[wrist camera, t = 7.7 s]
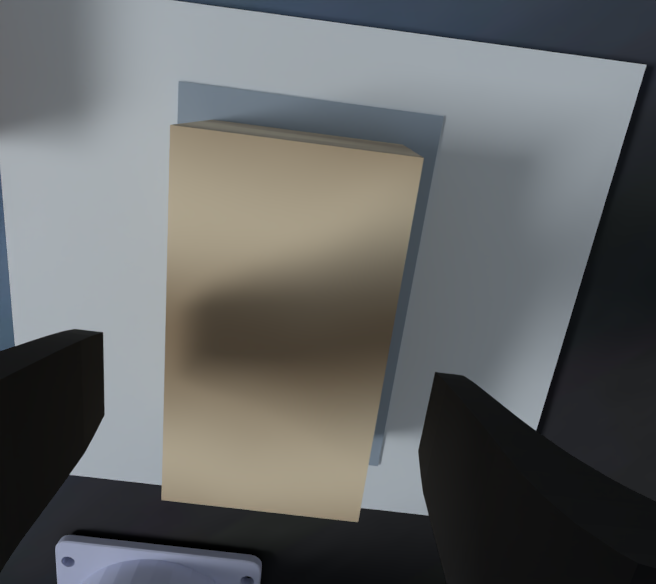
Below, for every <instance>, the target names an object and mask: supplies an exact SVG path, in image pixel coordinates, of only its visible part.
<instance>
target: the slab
mask: <svg viewBox="0 0 656 584" xmlns="http://www.w3.org/2000/svg"><path fill="white" fill-rule="evenodd" d="M423 160H424V158H423V157H422V156H420V155H419V154H417V153H415V152H414V151H412V150H411V149H409V148H407V147H406V146H404V145H402V144H395V143H387V142H379V141H372V140H364V139H357V138H349V137H341V136H334V135H326V134H318V133H311V132H303V131H295V130H288V129H280V128H272V127H265V126H257V125H249V124H242V123H234V122H226V121H219V120H205V121H197V122H189V123H181V124H173V125H170V149H169V193H168V237H167V281H166V325H165V369H164V413H163V457H162V500H166V501H175V502H184V503H193V504H202V505H210V506H219V507H228V508H237V509H246V510H255V511H264V512H272V513H281V514H290V515H299V516H308V517H317V518H326V519H335V520H343V521H352V522H358V520H359V514H360V509H361V503H362V498H363V492H364V487H365V481H366V476H367V470H368V465H369V459H370V454H371V448H372V442H373V437H374V431H375V426H376V420H377V415H378V409H379V404H380V398H381V393H382V387H383V382H384V376H385V371H386V365H387V359H388V354H389V348H390V343H391V337H392V332H393V326H394V321H395V315H396V310H397V304H398V299H399V293H400V288H401V282H402V277H403V271H404V265H405V260H406V254H407V249H408V243H409V238H410V232H411V227H412V221H413V216H414V210H415V205H416V199H417V194H418V188H419V183H420V177H421V171H422V166H423Z"/></svg>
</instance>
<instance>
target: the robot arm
mask: <svg viewBox="0 0 656 584" xmlns="http://www.w3.org/2000/svg"><path fill="white" fill-rule="evenodd" d="M104 415H105V406H104V348H103V332H96V331H88V330H80V329H72V330H66V331H62V332H58V333H55V334H51V335H48V336H45V337H42V338H39V339H35V340H32V341H29V342H26V343H23V344H20V345H17V346H14V347H12V348H9V349H6V350H3V351H0V572H1V570H2V569H3V567H4V565H5V564H6V562H7V561H8V559H9V558H10V556H11V555H12V553H13V552H14V550H15V549H16V547H17V546H18V544H19V543H20V541H21V540H22V539H23V537H24V536H25V534H26V533H27V532H28V530H29V529H30V528H31V526H32V525H33V524H34V522H35V521H36V519H37V518H38V517H39V515H40V514H41V513H42V511H43V510H44V509H45V507H46V506H47V505H48V503H49V502H50V500H51V499H52V498H53V496H54V495H55V494H56V492H57V491H58V490H59V488H60V487H61V486H62V484H63V483H64V481H65V480H66V479H67V477H68V476H69V474H70V473H71V472H72V470H73V469H74V468H75V466H76V465H77V463H78V462H79V460H80V459H81V458H82V456H83V455H84V453H85V452H86V450H87V448H88V446H89V444H90V442H91V441H92V439H93V437H94V435H95V433H96V431H97V429H98V427H99V425H100V423H101V421H102V419H103V417H104ZM418 455H419V465H420V474H421V482H422V490H423V495H424V499H425V503H426V507H427V511H428V515H429V518H430V522H431V526H432V530H433V534H434V537H435V541H436V545H437V549H438V553H439V556H440V560H441V564H442V568H443V571H444V575H445V579H446V583H447V584H656V502H655V501H653V500H651V499H649V498H647V497H645V496H643V495H641V494H639V493H637V492H635V491H633V490H631V489H629V488H627V487H625V486H623V485H622V484H620V483H618V482H616V481H614V480H612V479H610V478H609V477H607V476H605V475H604V474H602V473H600V472H598V471H597V470H595V469H593V468H592V467H590V466H588V465H587V464H585V463H583V462H582V461H580V460H578V459H577V458H575V457H573V456H572V455H570V454H569V453H567V452H566V451H564V450H563V449H561V448H560V447H558V446H557V445H555V444H554V443H553V442H551V441H550V440H548V439H547V438H545V437H544V436H543V435H541V434H540V433H538V432H537V431H536V430H534V429H533V428H532V427H530V426H529V425H527V424H526V423H525V422H524V421H522V420H521V419H520V418H518V417H517V416H516V415H514V414H513V413H512V412H511V411H509V410H508V409H507V408H506V407H504V406H503V405H502V404H501V403H499V402H498V401H497V400H496V399H494V398H493V397H492V396H491V395H489V394H488V393H487V392H486V391H484V390H483V389H482V388H480V387H479V386H478V385H477V384H475V383H474V382H472V381H471V380H470V379H468V378H467V377H465V376H463V375H456V374H448V373H440V372H435V375H434V379H433V384H432V389H431V393H430V398H429V403H428V407H427V412H426V417H425V421H424V426H423V431H422V435H421V440H420V445H419V449H418ZM55 554H56V569H57V584H260V581H261V571H262V562H261V560H260V559H259V558H258V557H256V556H254V555H249V554H240V553H231V552H222V551H213V550H204V549H195V548H186V547H177V546H168V545H159V544H150V543H141V542H132V541H123V540H114V539H105V538H96V537H87V536H78V535H66V536H63V537H62V538H61V539H60V540H59V542H58V543H57V545H56V548H55ZM70 557H71V558H70ZM245 576H249V577H251V578H247V577H245Z"/></svg>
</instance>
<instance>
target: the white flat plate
mask: <svg viewBox="0 0 656 584" xmlns="http://www.w3.org/2000/svg"><path fill="white" fill-rule="evenodd" d="M645 68H646V65H644V64H637V63H629V62H622V61H614V60H607V59H600V58H592V57H585V56H578V55H570V54H563V53H556V52H548V51H541V50H534V49H526V48H519V47H512V46H504V45H497V44H490V43H482V42H475V41H468V40H460V39H453V38H446V37H438V36H431V35H424V34H416V33H409V32H402V31H394V30H387V29H380V28H372V27H365V26H357V25H350V24H343V23H335V22H328V21H321V20H313V19H306V18H299V17H291V16H284V15H277V14H269V13H262V12H255V11H247V10H240V9H233V8H225V7H218V6H211V5H203V4H196V3H189V2H181V1H174V0H0V170H1V182H2V194H3V206H4V218H5V231H6V243H7V255H8V267H9V279H10V291H11V303H12V315H13V327H14V340H15V346H17V345H20V344H23V343H26V342H29V341H32V340H35V339H39V338H42V337H45V336H48V335H51V334H55V333H58V332H62V331H66V330H72V329H80V330H88V331H96V332H103V348H104V406H105V415H104V417H103V419H102V421H101V423H100V425H99V427H98V429H97V431H96V433H95V435H94V437H93V439H92V441H91V442H90V444H89V446H88V448H87V450H86V452H85V453H84V455H83V456H82V458H81V459H80V460H79V462H78V463H77V465H76V466H75V468H74V469H73V470H72V472H71V473H70V474H69V475H77V476H86V477H95V478H103V479H112V480H121V481H130V482H139V483H147V484H156V485H162V457H163V413H164V369H165V325H166V281H167V237H168V193H169V149H170V125H173V124H181V123H189V122H197V121H205V120H219V121H226V122H234V123H242V124H249V125H257V126H265V127H272V128H280V129H288V130H295V131H303V132H311V133H318V134H326V135H334V136H341V137H349V138H357V139H364V140H372V141H379V142H387V143H395V144H402V145H404V146H406V147H407V148H409V149H411V150H412V151H414V152H415V153H417V154H419V155H420V156H422V157H423V158H424V160H423V166H422V171H421V177H420V183H419V188H418V194H417V199H416V205H415V210H414V216H413V221H412V227H411V232H410V238H409V243H408V249H407V254H406V260H405V265H404V271H403V277H402V282H401V288H400V293H399V299H398V304H397V310H396V315H395V321H394V326H393V332H392V337H391V343H390V348H389V354H388V359H387V365H386V371H385V376H384V382H383V387H382V393H381V398H380V404H379V409H378V415H377V420H376V426H375V431H374V437H373V442H372V448H371V454H370V459H369V465H368V470H367V476H366V481H365V487H364V492H363V498H362V503H361V508H368V509H376V510H385V511H394V512H403V513H412V514H420V515H428V511H427V507H426V503H425V499H424V495H423V490H422V482H421V474H420V465H419V455H418V449H419V445H420V440H421V435H422V431H423V426H424V421H425V417H426V412H427V407H428V403H429V398H430V393H431V389H432V384H433V379H434V375H435V372H440V373H448V374H456V375H463V376H465V377H467V378H468V379H470V380H471V381H472V382H474V383H475V384H477V385H478V386H479V387H480V388H482V389H483V390H484V391H486V392H487V393H488V394H489V395H491V396H492V397H493V398H494V399H496V400H497V401H498V402H499V403H501V404H502V405H503V406H504V407H506V408H507V409H508V410H509V411H511V412H512V413H513V414H514V415H516V416H517V417H518V418H520V419H521V420H522V421H524V422H525V423H526V424H527V425H529V426H530V427H532V428H533V429H534V430H537V426H538V423H539V420H540V416H541V413H542V410H543V406H544V403H545V400H546V396H547V393H548V390H549V387H550V383H551V380H552V377H553V373H554V370H555V367H556V363H557V360H558V357H559V353H560V350H561V347H562V343H563V340H564V337H565V333H566V330H567V327H568V324H569V320H570V317H571V314H572V310H573V307H574V304H575V300H576V297H577V294H578V290H579V287H580V284H581V280H582V277H583V274H584V271H585V267H586V264H587V261H588V257H589V254H590V251H591V247H592V244H593V241H594V237H595V234H596V231H597V227H598V224H599V221H600V217H601V214H602V211H603V208H604V204H605V201H606V198H607V194H608V191H609V188H610V184H611V181H612V178H613V174H614V171H615V168H616V164H617V161H618V158H619V155H620V151H621V148H622V145H623V141H624V138H625V135H626V131H627V128H628V125H629V121H630V118H631V115H632V111H633V108H634V105H635V101H636V98H637V95H638V92H639V88H640V85H641V82H642V78H643V75H644V72H645Z"/></svg>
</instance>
